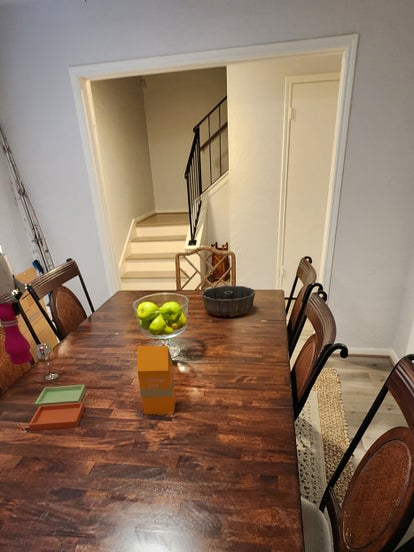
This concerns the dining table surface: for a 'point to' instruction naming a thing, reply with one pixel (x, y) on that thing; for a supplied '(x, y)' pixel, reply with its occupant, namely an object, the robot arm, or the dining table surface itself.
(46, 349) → the wineglass
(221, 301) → the bundt pan
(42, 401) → the sage tray
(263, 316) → the dining table surface
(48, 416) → the terracotta tray
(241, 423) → the dining table surface
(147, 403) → the orange juice
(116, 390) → the dining table surface
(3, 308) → the pepper mill
